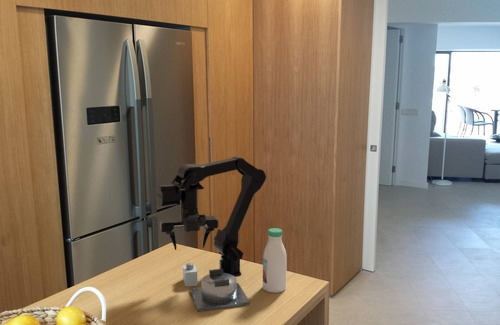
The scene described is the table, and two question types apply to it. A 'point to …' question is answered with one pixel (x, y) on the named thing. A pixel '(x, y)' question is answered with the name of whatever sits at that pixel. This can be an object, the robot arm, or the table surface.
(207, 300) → the grey stacked fixture
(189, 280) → the pump
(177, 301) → the table surface
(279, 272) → the milk bottle
